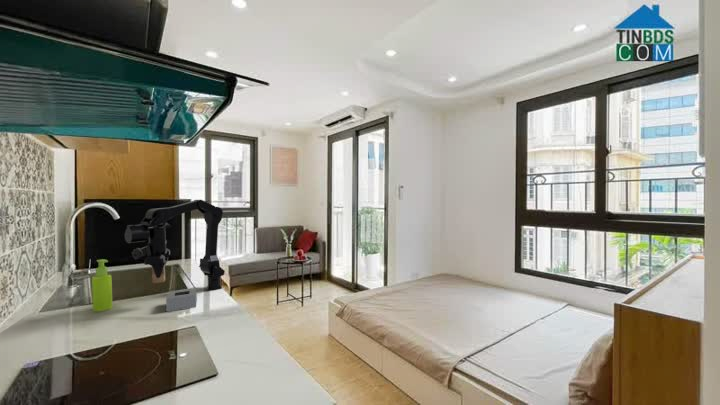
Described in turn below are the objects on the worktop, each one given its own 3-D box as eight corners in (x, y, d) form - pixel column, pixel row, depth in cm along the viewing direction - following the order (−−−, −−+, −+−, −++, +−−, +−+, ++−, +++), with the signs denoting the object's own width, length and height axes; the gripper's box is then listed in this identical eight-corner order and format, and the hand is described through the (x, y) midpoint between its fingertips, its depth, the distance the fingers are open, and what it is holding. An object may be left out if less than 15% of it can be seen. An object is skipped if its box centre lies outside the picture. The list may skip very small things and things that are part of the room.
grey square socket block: (169, 303, 122) (169, 291, 122) (196, 299, 127) (196, 288, 127) (166, 311, 113) (166, 299, 113) (196, 307, 118) (195, 294, 118)
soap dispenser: (97, 313, 113) (95, 262, 112) (90, 310, 116) (88, 260, 116) (116, 308, 118) (114, 259, 117) (108, 305, 121) (107, 257, 121)
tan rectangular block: (153, 281, 121) (153, 264, 121) (165, 279, 123) (164, 263, 123) (152, 283, 119) (151, 266, 118) (164, 281, 120) (163, 265, 120)
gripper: (138, 237, 125) (140, 273, 126) (126, 244, 108) (128, 286, 109) (169, 235, 130) (171, 270, 131) (162, 241, 113) (164, 281, 114)
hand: (159, 276), depth 121 cm, fingers closed on tan rectangular block, 3 cm apart
